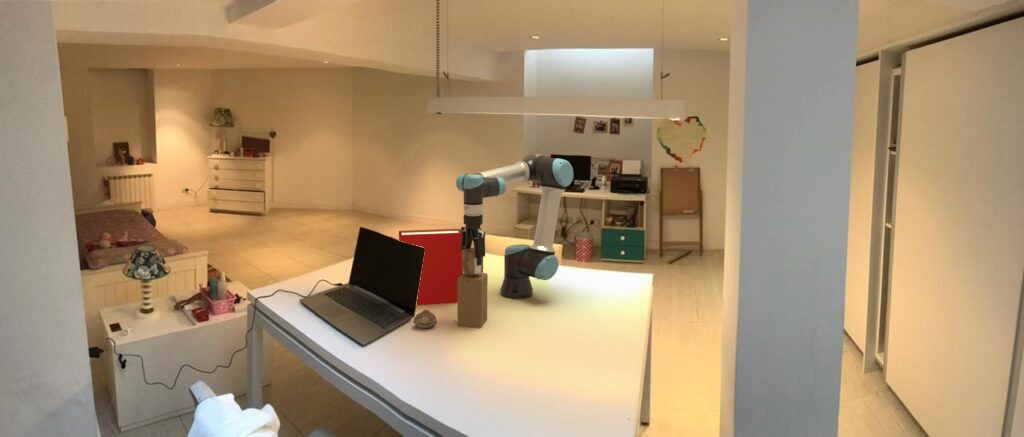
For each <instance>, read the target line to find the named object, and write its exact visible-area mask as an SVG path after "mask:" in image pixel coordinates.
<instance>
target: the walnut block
mask: <svg viewBox="0 0 1024 437" xmlns="http://www.w3.org/2000/svg"><path fill="white" fill-rule="evenodd" d="M474 257H476V255H475V249H474V247H471V248H470V249H464V250H462V272H463V273H464V272H465V273H467V274H469V275H474V274H475V273H474ZM481 273H484V257H482V261H481ZM477 274H479V273H477Z"/></svg>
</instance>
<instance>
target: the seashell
mask: <svg viewBox="0 0 1024 437" xmlns="http://www.w3.org/2000/svg"><path fill="white" fill-rule="evenodd" d="M412 322H413V324H414V325H415V326H416V327H418V328H419V329H425V328H428V329H429V328H431V327H433V326H434V325H436V324H437V323H438V320H437V317H436V315H435V314H434V313H433V312H431V311H430V310H428V309H424V310H422V311H421V312H419V313H417V314H416V315H415V317H414V318H413V321H412Z"/></svg>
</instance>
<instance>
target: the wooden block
mask: <svg viewBox="0 0 1024 437" xmlns="http://www.w3.org/2000/svg"><path fill="white" fill-rule="evenodd" d="M488 276H489V275H488V273H486V272H483V273H479V274H474V275H469V274H467V273H465V272H463V274H462V275H461V276H460V277H459V278H458V303H457V326H458V327H467V328H469V327H470V328H478V329H479V328H480V329H481V328H483V326H484V325H485V322H486V321H487V320H488Z"/></svg>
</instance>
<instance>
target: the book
mask: <svg viewBox="0 0 1024 437" xmlns="http://www.w3.org/2000/svg"><path fill="white" fill-rule="evenodd" d="M461 238H462V231H461V228H442V229H440V228H438V229H418V230H417V229H416V230H415V229H414V230H413V229H412V230H398V241H399V240H400V241H403V242H406V243H409V244H414V245H418V246H422V247H424V248H425V255H424V261H423V267H422V273H421V280H420V285H419V292H418V299H417V306H432V305H434V306H435V305H446V304H458V278H459V277H460V276H461V275H462V274H463V273H464V272H462V250H461ZM417 306H416V307H417Z"/></svg>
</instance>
